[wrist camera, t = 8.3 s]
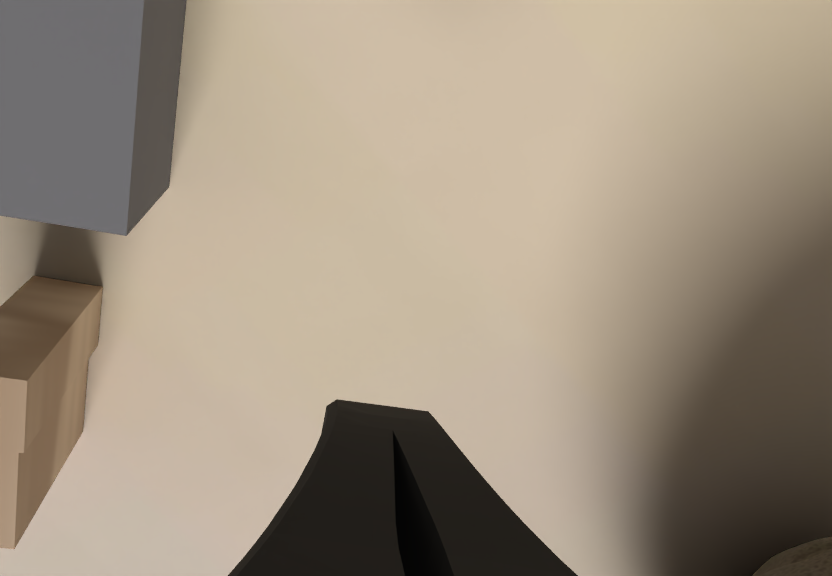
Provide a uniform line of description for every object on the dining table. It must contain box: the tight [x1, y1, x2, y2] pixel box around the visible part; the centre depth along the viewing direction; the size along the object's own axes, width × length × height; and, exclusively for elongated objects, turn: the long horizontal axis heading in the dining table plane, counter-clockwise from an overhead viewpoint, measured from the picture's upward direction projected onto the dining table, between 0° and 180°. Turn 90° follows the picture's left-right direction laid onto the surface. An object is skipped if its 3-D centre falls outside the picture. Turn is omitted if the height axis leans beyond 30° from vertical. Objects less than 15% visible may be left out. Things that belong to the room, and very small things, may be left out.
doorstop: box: [0, 0, 186, 236], centre depth 15 cm, size 6×6×4 cm
